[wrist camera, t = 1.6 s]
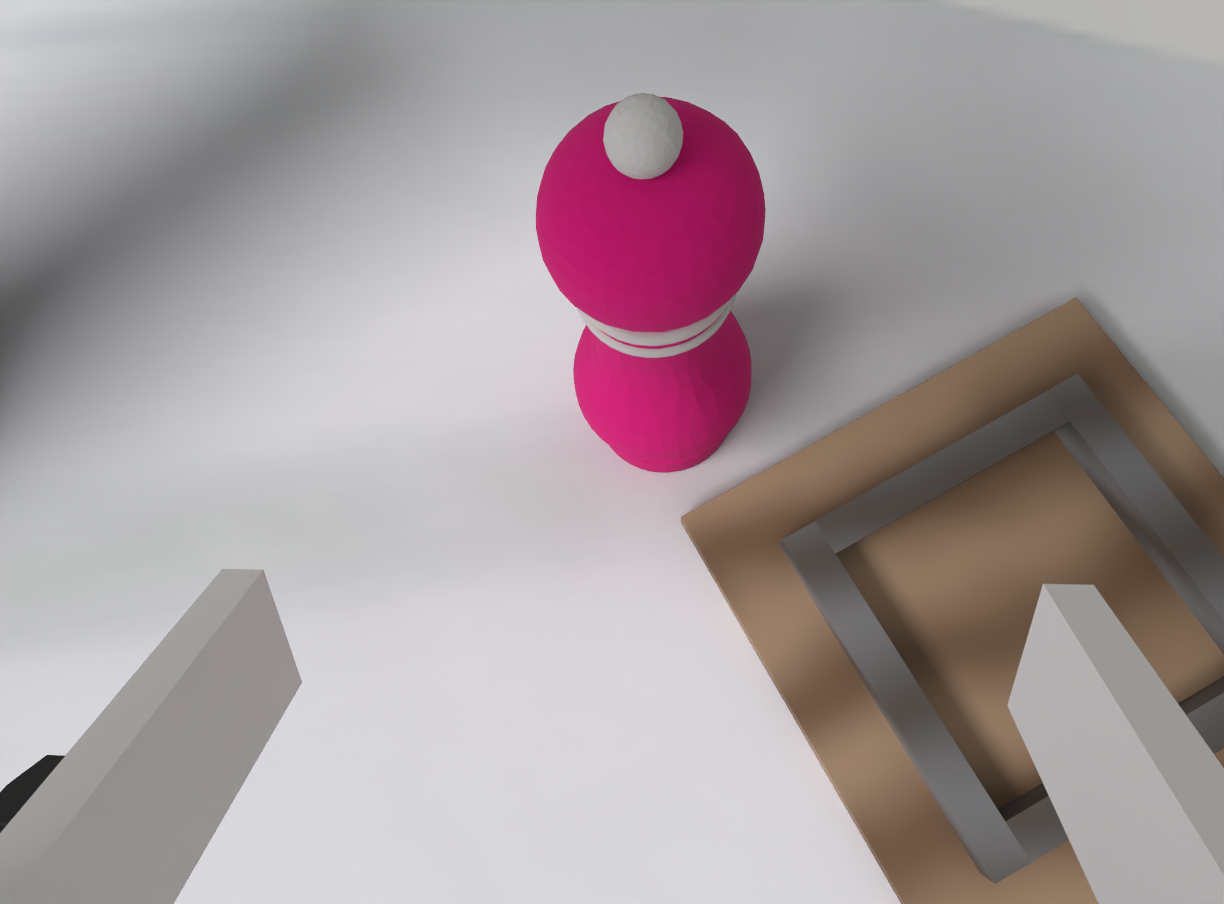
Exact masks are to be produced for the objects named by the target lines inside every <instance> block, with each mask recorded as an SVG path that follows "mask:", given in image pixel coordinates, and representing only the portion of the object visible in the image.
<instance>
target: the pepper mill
mask: <svg viewBox="0 0 1224 904" xmlns="http://www.w3.org/2000/svg"><path fill="white" fill-rule="evenodd" d="M764 223H765V200H764V192H763V188H762V183H761V179H760V175H759V172H758V169H757V167H756V165H755V163H754V160H753V158H752V156H751V154H750V152H749V151H748V149H747V148H746V146H745V145H744V143H743V142H742V140H741V139H740V137H739V136H738V134H737V133H736V132H735V131H734V130H733V129H732V128H731V127H729V126H728V125H727V124H726V123H725V122H724V121H722V120H721V119H719V118H718V117H716V116H715V115H713V114H712V113H710V112H708V111H707V110H704V109H702V108H700V107H698V106H695V105H693V104H691V103H689V102H685V101H681V100H676V99H672V98H667V97H658V96H656V95H652V94H644V93H642V94H635V95H632V96H629V97H626V98H625V99H623V100H622V101H619V102H616V103H613V104H610V105H607V106H604V107H603V108H601V109H599V110H597V111H595V112H593V113H592V114H590V115H588V116H587V117H586V118H585V119H583V120H582V121H581V122H580V123H579V124H577V125H576V126H575V127H574V128H573V129H571V130H570V131H569V132H568V134H567V135H566V136H565V137H564V139H563V140H562V141H561V142H560V144H559V145H558V146H557V148H556V149H555V151H554V152H553V154H552V156H551V158H550V160H549V162H548V164H547V166H546V168H545V171H544V174H543V177H542V181H541V184H540V188H539V192H538V196H537V208H536V230H537V235H538V240H539V245H540V249H541V253H542V258H543V261H544V263H545V265H546V267H547V269H548V271H549V272H550V274H551V276H552V278H553V280H554V281H555V283H556V285H557V286H558V288H559V290H560V291H561V292H562V293H563V294H564V295H565V296H566V298H567V299H568V300H569V301H570V302H571V303H572V304H573V305H574V306H575V307H577V308H578V311H579V313H580V315H581V317H582V318H583V320H584V322H585V323H586V327H585V329H584V331H583V333H582V335H581V338H580V341H579V344H578V347H577V350H576V353H575V360H574V370H573V371H574V384H575V390H576V395H577V399H578V403H579V406H580V408H581V411H582V413H583V415H584V417H585V419H586V420H587V422H588V423H589V425H590V426H591V428H592V429H593V430H594V431H595V432H596V434H597V435H598V436H599V437H600V438H601V439H602V440H603V441H605V442H606V443H607V444H609V446H610V447H611V448H612V449H613V450H614V451H615V452H616V453H617V454H618V455H619V456H620V457H621V458H622V459H624V460H625V461H627V462H628V463H630V464H632V465H634V466H636V467H638V468H640V469H644V470H647V471H653V472H665V473H668V472H675V471H681V470H684V469H687V468H690V467H693V466H695V465H697V464H699V463H701V462H702V461H704V460H705V459H707V458H708V457H709V456H710V455H711V454H713V453H714V452H715V451H716V450H717V448H718V447H719V446H720V445H721V443H722V442H723V440H724V439H725V437H726V435H727V434H728V433H729V432H730V431H731V429H732V428H733V427H734V426H735V425H736V423H737V422H738V420H739V418H740V417H741V415H742V413H743V411H744V409H745V406H746V404H747V401H748V398H749V393H750V388H751V358H750V351H749V347H748V344H747V341H746V338H745V335H744V333H743V332H742V330H741V328H740V326H739V324H738V322H737V320H736V318H735V317H734V315H733V314H732V312H731V311H730V310H731V308H732V306H733V303H734V299H735V295H736V293H737V292H738V291H739V289H740V288H741V286H742V285H743V283H744V282H745V280H746V279H747V277H748V276H749V274H750V273H751V271H752V270H753V267H754V264H755V261H756V258H757V255H758V252H759V250H760V247H761V244H762V241H763V233H764Z"/></svg>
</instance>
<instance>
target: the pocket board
mask: <svg viewBox="0 0 1224 904" xmlns="http://www.w3.org/2000/svg"><path fill="white" fill-rule="evenodd" d="M681 523H682V525H683V527H684V528H685V530H686V532H687V533H688V535H689V537H690V539H691V540H692V542H693V544H694V546H695V547H696V549H697V551H698V552H699V554H700V556H701V558H702V559H703V561H704V563H705V565H706V566H707V568H708V570H709V572H710V573H711V575H712V577H713V578H714V580H715V582H716V584H717V585H718V587H719V589H720V591H721V592H722V594H723V596H724V597H725V599H726V601H727V603H728V604H729V606H730V608H731V610H732V611H733V613H734V615H735V617H736V618H737V620H738V622H739V623H740V625H741V627H742V629H743V630H744V632H745V634H746V636H747V637H748V639H749V641H750V642H751V644H752V646H753V648H754V649H755V651H756V653H757V655H758V656H759V658H760V660H761V662H762V663H763V665H764V667H765V668H766V670H767V672H768V674H769V675H770V677H771V679H772V681H773V682H774V684H775V686H776V688H777V689H778V691H779V693H780V694H781V696H782V698H783V700H784V701H785V703H786V705H787V707H788V708H789V710H790V712H791V713H792V715H793V717H794V719H795V720H796V722H797V724H798V726H799V727H800V729H801V731H802V733H803V734H804V736H805V738H806V739H807V741H808V743H809V745H810V746H811V748H812V750H813V752H814V753H815V755H816V757H817V758H818V760H819V762H820V764H821V765H822V767H823V769H824V771H825V772H826V774H827V776H828V778H829V779H830V781H831V783H832V784H833V786H834V788H835V790H836V791H837V793H838V795H839V797H840V798H841V800H842V802H843V803H844V805H845V807H846V809H847V810H848V812H849V814H850V816H851V817H852V819H853V821H854V823H855V824H856V826H857V828H858V829H859V831H860V833H861V835H862V836H863V838H864V840H865V842H866V843H867V845H868V847H869V848H870V850H871V852H872V854H873V855H874V857H875V859H876V861H877V862H878V864H879V866H880V868H881V869H882V871H883V873H884V874H885V876H886V878H887V880H888V881H889V883H890V885H891V887H892V888H893V890H894V892H895V893H896V895H897V897H898V899H899V900H900V902H901V904H1098V902H1097V899H1096V897H1095V895H1094V893H1093V891H1092V889H1091V886H1090V884H1089V882H1088V880H1087V878H1086V875H1085V873H1084V871H1083V869H1082V867H1081V865H1080V862H1079V860H1078V858H1077V856H1076V854H1075V852H1074V849H1073V847H1072V845H1071V843H1070V841H1069V839H1068V836H1067V834H1066V832H1065V830H1064V828H1063V826H1062V823H1061V821H1060V819H1059V817H1058V815H1057V812H1056V810H1055V808H1054V806H1053V804H1052V802H1051V799H1050V797H1049V795H1048V793H1047V791H1046V789H1045V786H1044V784H1043V782H1042V780H1041V778H1040V776H1039V773H1038V771H1037V769H1036V767H1035V765H1034V763H1033V760H1032V758H1031V756H1030V754H1029V752H1028V749H1027V747H1026V745H1025V743H1024V741H1023V739H1022V736H1021V734H1020V732H1019V730H1018V728H1017V726H1016V723H1015V721H1014V719H1013V717H1012V715H1011V713H1010V710H1009V708H1008V706H1007V705H1008V701H1009V698H1010V695H1011V691H1012V688H1013V684H1014V681H1015V678H1016V674H1017V671H1018V667H1019V664H1020V660H1021V657H1022V654H1023V650H1024V647H1025V643H1026V640H1027V637H1028V633H1029V630H1030V626H1031V623H1032V620H1033V616H1034V613H1035V609H1036V606H1037V603H1038V599H1039V596H1040V592H1041V589H1042V586H1043V584H1079V585H1094V586H1095V587H1096V589H1097V590H1098V592H1099V593H1100V594H1101V596H1102V597H1103V599H1104V600H1105V601H1106V603H1107V604H1108V606H1109V607H1110V608H1111V610H1112V611H1113V613H1114V614H1115V616H1116V617H1117V618H1118V620H1119V621H1120V623H1121V624H1122V625H1123V627H1124V628H1125V630H1126V631H1127V632H1128V634H1129V635H1130V637H1131V638H1132V640H1133V641H1134V642H1135V644H1136V645H1137V647H1138V648H1139V649H1140V651H1141V652H1142V654H1143V655H1144V656H1145V658H1146V659H1147V661H1148V662H1149V663H1150V665H1151V666H1152V668H1153V669H1154V671H1155V672H1156V673H1157V675H1158V676H1159V678H1160V679H1161V680H1162V682H1163V683H1164V685H1165V686H1166V687H1167V689H1168V690H1169V692H1170V693H1171V695H1172V696H1173V697H1174V699H1175V700H1176V702H1177V703H1178V704H1179V706H1180V707H1181V709H1182V710H1183V711H1184V713H1185V714H1186V716H1187V717H1188V718H1189V720H1190V721H1191V723H1192V724H1193V726H1194V727H1195V728H1196V730H1197V731H1198V733H1199V734H1200V735H1201V737H1202V738H1203V740H1204V741H1205V742H1206V744H1207V745H1208V747H1209V748H1210V749H1211V751H1212V752H1213V754H1214V755H1215V757H1216V758H1217V759H1218V761H1219V762H1220V764H1221V765H1222V766H1223V768H1224V478H1223V477H1222V475H1221V474H1220V473H1219V472H1218V470H1217V469H1216V468H1215V467H1214V466H1213V464H1212V463H1211V462H1210V461H1209V459H1208V458H1207V457H1206V456H1205V454H1204V453H1203V452H1202V451H1201V450H1200V448H1199V447H1198V446H1197V445H1196V443H1195V442H1194V441H1193V440H1192V439H1191V437H1190V436H1189V435H1188V434H1187V432H1186V431H1185V430H1184V429H1183V428H1182V426H1181V425H1180V424H1179V423H1178V421H1177V420H1176V419H1175V418H1174V417H1173V415H1172V414H1171V413H1170V412H1169V410H1168V409H1167V408H1166V407H1165V405H1164V404H1163V403H1162V402H1161V401H1160V399H1159V398H1158V397H1157V396H1156V394H1155V393H1154V392H1153V391H1152V390H1151V388H1150V387H1149V386H1148V385H1147V383H1146V382H1145V381H1144V380H1143V379H1142V377H1141V376H1140V375H1139V374H1138V372H1137V371H1136V370H1135V369H1134V368H1133V366H1132V365H1131V364H1130V363H1129V361H1128V360H1127V359H1126V358H1125V356H1124V355H1123V354H1122V353H1121V352H1120V350H1119V349H1118V348H1117V347H1116V345H1115V344H1114V343H1113V342H1112V341H1111V339H1110V338H1109V337H1108V336H1107V334H1106V333H1105V332H1104V331H1103V330H1102V328H1101V327H1100V326H1099V325H1098V323H1097V322H1096V321H1095V320H1094V319H1093V317H1092V316H1091V315H1090V314H1089V312H1088V311H1087V310H1086V309H1085V307H1084V306H1083V305H1082V304H1081V303H1080V301H1079V300H1078V299H1077V298H1074V299H1073V300H1071V301H1069V302H1067V303H1065V304H1064V305H1062V306H1060V307H1058V308H1056V309H1055V310H1053V311H1051V312H1049V313H1047V314H1046V315H1044V316H1042V317H1040V318H1038V319H1037V320H1035V321H1033V322H1031V323H1029V324H1028V325H1026V326H1024V327H1022V328H1020V329H1019V330H1017V331H1015V332H1013V333H1011V334H1010V335H1008V336H1006V337H1004V338H1002V339H1001V340H999V341H997V342H995V343H993V344H992V345H990V346H988V347H986V348H984V349H983V350H981V351H979V352H977V353H975V354H974V355H972V356H970V357H968V358H966V359H965V360H963V361H961V362H959V363H957V364H956V365H954V366H952V367H950V368H948V369H947V370H945V371H943V372H941V373H939V374H938V375H936V376H934V377H932V378H930V379H929V380H927V381H925V382H923V383H921V384H920V385H918V386H916V387H914V388H912V389H911V390H909V391H907V392H905V393H903V394H902V395H900V396H898V397H896V398H894V399H893V400H891V401H889V402H887V403H885V404H884V405H882V406H880V407H878V408H876V409H875V410H873V411H871V412H869V413H867V414H866V415H864V416H862V417H860V418H858V419H857V420H855V421H853V422H851V423H849V424H848V425H846V426H844V427H842V428H840V429H839V430H837V431H835V432H833V433H831V434H830V435H828V436H826V437H824V438H822V439H821V440H819V441H817V442H815V443H813V444H812V445H810V446H808V447H806V448H804V449H803V450H801V451H799V452H797V453H795V454H794V455H792V456H790V457H788V458H786V459H785V460H783V461H781V462H779V463H777V464H776V465H774V466H772V467H770V468H768V469H767V470H765V471H763V472H761V473H759V474H758V475H756V476H754V477H752V478H750V479H749V480H747V481H745V482H743V483H741V484H740V485H738V486H736V487H734V488H732V489H731V490H729V491H727V492H725V493H723V494H722V495H720V496H718V497H716V498H714V499H713V500H711V501H709V502H707V503H705V504H704V505H702V506H700V507H698V508H696V509H695V510H693V511H691V512H689V513H687V514H686V515H684V516H682V517H681Z"/></svg>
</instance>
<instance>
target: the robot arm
mask: <svg viewBox="0 0 1224 904" xmlns="http://www.w3.org/2000/svg"><path fill="white" fill-rule="evenodd" d="M301 683H302V681H301V678H300V675H299V672H298V669H297V666H296V664H295V661H294V658H293V655H292V652H291V649H290V646H289V643H288V640H287V637H286V635H285V632H284V629H283V626H282V623H281V620H280V617H279V614H278V611H277V608H276V605H275V603H274V600H273V597H272V594H271V591H270V588H269V585H268V582H267V579H266V576H265V573H264V571H263V570H242V569H222V570H221V571H220V573H219V574H218V575H217V576H216V577H215V579H214V580H213V581H212V582H211V583H210V584H209V586H208V587H207V588H206V589H205V590H204V592H203V593H202V594H201V595H200V596H199V598H198V599H197V600H196V601H195V602H194V604H193V605H192V606H191V607H190V608H189V609H188V611H187V612H186V613H185V614H184V615H183V617H182V618H181V619H180V620H179V621H178V623H177V624H176V625H175V626H174V627H173V628H172V630H171V631H170V632H169V633H168V634H167V636H166V637H165V638H164V639H163V640H162V642H161V643H160V644H159V645H158V646H157V647H156V649H155V650H154V651H153V652H152V653H151V655H150V656H149V657H148V658H147V659H146V661H145V662H144V663H143V664H142V665H141V666H140V668H139V669H138V670H137V671H136V672H135V674H134V675H133V676H132V677H131V678H130V680H129V681H128V682H127V683H126V684H125V686H124V687H123V688H122V689H121V690H120V691H119V693H118V694H117V695H116V696H115V697H114V699H113V700H112V701H111V702H110V703H109V705H108V706H107V707H106V708H105V709H104V710H103V712H102V713H101V714H100V715H99V716H98V718H97V719H96V720H95V721H94V722H93V724H92V725H91V726H90V727H89V728H88V729H87V731H86V732H85V733H84V734H83V735H82V737H81V738H80V739H79V740H78V741H77V743H76V744H75V745H74V746H73V747H72V749H71V750H70V751H69V752H68V753H67V754H66V756H57V755H46V756H45V757H44V758H42V759H41V760H40V761H38V762H37V763H36V764H34V765H33V766H32V767H30V768H29V769H28V770H26V771H25V772H24V773H22V774H21V775H20V776H18V777H17V778H16V779H14V780H13V781H12V782H10V783H9V784H8V785H6V787H5V788H4V789H3V790H2V791H1V792H0V904H174V902H175V900H176V898H177V897H178V895H179V893H180V891H181V890H182V888H183V886H184V885H185V883H186V881H187V879H188V878H189V876H190V874H191V873H192V871H193V869H194V867H195V866H196V864H197V862H198V860H199V859H200V857H201V855H202V854H203V852H204V850H205V848H206V847H207V845H208V843H209V841H210V840H211V838H212V836H213V835H214V833H215V831H216V829H217V828H218V826H219V824H220V822H221V821H222V819H223V817H224V816H225V814H226V812H227V810H228V809H229V807H230V805H231V804H232V802H233V800H234V798H235V797H236V795H237V793H238V791H239V790H240V788H241V786H242V785H243V783H244V781H245V779H246V778H247V776H248V774H249V772H250V771H251V769H252V767H253V766H254V764H255V762H256V760H257V759H258V757H259V755H260V754H261V752H262V750H263V748H264V747H265V745H266V743H267V741H268V740H269V738H270V736H271V735H272V733H273V731H274V729H275V728H276V726H277V724H278V722H279V721H280V719H281V717H282V716H283V714H284V712H285V710H286V709H287V707H288V705H289V704H290V702H291V700H292V698H293V697H294V695H295V693H296V691H297V690H298V688H299V686H300V685H301ZM1007 706H1008V708H1009V710H1010V713H1011V715H1012V717H1013V719H1014V721H1015V723H1016V726H1017V728H1018V730H1019V732H1020V734H1021V736H1022V739H1023V741H1024V743H1025V745H1026V747H1027V749H1028V752H1029V754H1030V756H1031V758H1032V760H1033V763H1034V765H1035V767H1036V769H1037V771H1038V773H1039V776H1040V778H1041V780H1042V782H1043V784H1044V786H1045V789H1046V791H1047V793H1048V795H1049V797H1050V799H1051V802H1052V804H1053V806H1054V808H1055V810H1056V812H1057V815H1058V817H1059V819H1060V821H1061V823H1062V826H1063V828H1064V830H1065V832H1066V834H1067V836H1068V839H1069V841H1070V843H1071V845H1072V847H1073V849H1074V852H1075V854H1076V856H1077V858H1078V860H1079V862H1080V865H1081V867H1082V869H1083V871H1084V873H1085V875H1086V878H1087V880H1088V882H1089V884H1090V886H1091V889H1092V891H1093V893H1094V895H1095V897H1096V899H1097V902H1098V904H1224V768H1223V766H1222V765H1221V764H1220V762H1219V761H1218V759H1217V758H1216V757H1215V755H1214V754H1213V752H1212V751H1211V749H1210V748H1209V747H1208V745H1207V744H1206V742H1205V741H1204V740H1203V738H1202V737H1201V735H1200V734H1199V733H1198V731H1197V730H1196V728H1195V727H1194V726H1193V724H1192V723H1191V721H1190V720H1189V718H1188V717H1187V716H1186V714H1185V713H1184V711H1183V710H1182V709H1181V707H1180V706H1179V704H1178V703H1177V702H1176V700H1175V699H1174V697H1173V696H1172V695H1171V693H1170V692H1169V690H1168V689H1167V687H1166V686H1165V685H1164V683H1163V682H1162V680H1161V679H1160V678H1159V676H1158V675H1157V673H1156V672H1155V671H1154V669H1153V668H1152V666H1151V665H1150V663H1149V662H1148V661H1147V659H1146V658H1145V656H1144V655H1143V654H1142V652H1141V651H1140V649H1139V648H1138V647H1137V645H1136V644H1135V642H1134V641H1133V640H1132V638H1131V637H1130V635H1129V634H1128V632H1127V631H1126V630H1125V628H1124V627H1123V625H1122V624H1121V623H1120V621H1119V620H1118V618H1117V617H1116V616H1115V614H1114V613H1113V611H1112V610H1111V608H1110V607H1109V606H1108V604H1107V603H1106V601H1105V600H1104V599H1103V597H1102V596H1101V594H1100V593H1099V592H1098V590H1097V589H1096V587H1095V586H1094V585H1079V584H1043V586H1042V589H1041V592H1040V596H1039V599H1038V603H1037V606H1036V609H1035V613H1034V616H1033V620H1032V623H1031V626H1030V630H1029V633H1028V637H1027V640H1026V643H1025V647H1024V650H1023V654H1022V657H1021V660H1020V664H1019V667H1018V671H1017V674H1016V678H1015V681H1014V684H1013V688H1012V691H1011V695H1010V698H1009V701H1008V705H1007Z"/></svg>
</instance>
